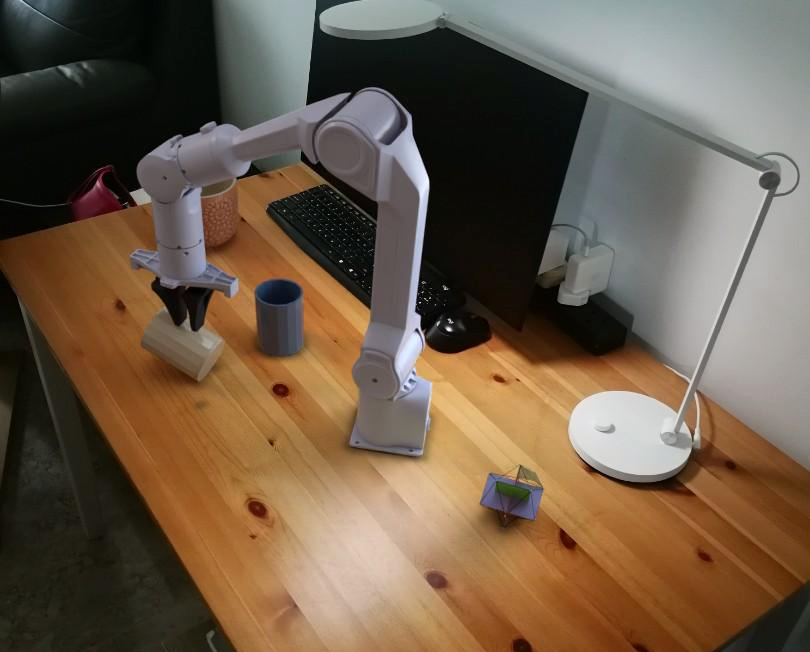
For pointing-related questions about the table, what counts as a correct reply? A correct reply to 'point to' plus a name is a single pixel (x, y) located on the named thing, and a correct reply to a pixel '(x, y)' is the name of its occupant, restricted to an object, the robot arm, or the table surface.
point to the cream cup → (182, 345)
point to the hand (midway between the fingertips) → (189, 324)
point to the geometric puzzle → (513, 494)
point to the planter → (219, 212)
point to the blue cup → (279, 317)
